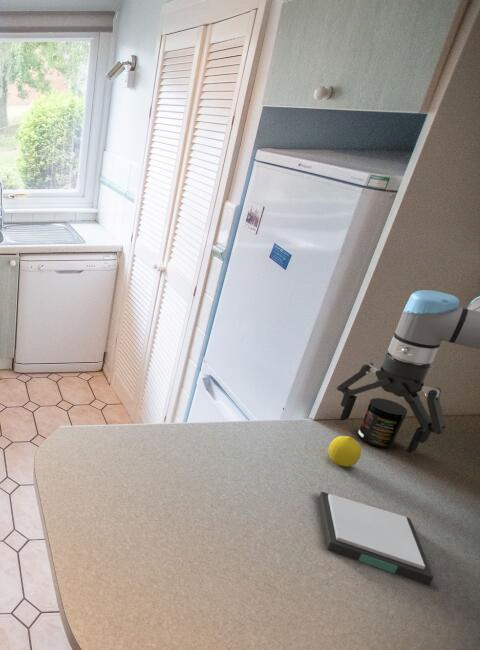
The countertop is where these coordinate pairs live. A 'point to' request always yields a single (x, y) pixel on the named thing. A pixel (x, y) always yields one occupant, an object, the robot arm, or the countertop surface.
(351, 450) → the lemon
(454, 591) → the countertop surface
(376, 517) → the kitchen scale
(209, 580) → the countertop surface
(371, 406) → the supplement container
